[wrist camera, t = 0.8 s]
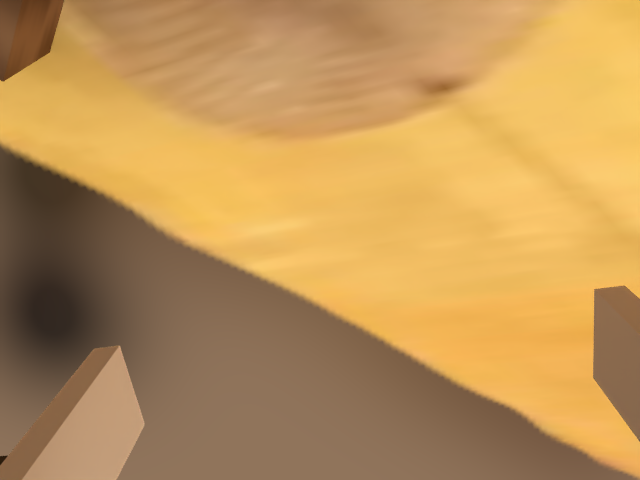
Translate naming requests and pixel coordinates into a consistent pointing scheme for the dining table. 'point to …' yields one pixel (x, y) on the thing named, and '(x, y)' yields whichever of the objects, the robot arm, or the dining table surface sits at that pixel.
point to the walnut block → (26, 32)
